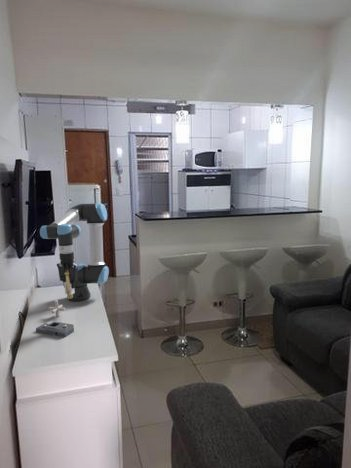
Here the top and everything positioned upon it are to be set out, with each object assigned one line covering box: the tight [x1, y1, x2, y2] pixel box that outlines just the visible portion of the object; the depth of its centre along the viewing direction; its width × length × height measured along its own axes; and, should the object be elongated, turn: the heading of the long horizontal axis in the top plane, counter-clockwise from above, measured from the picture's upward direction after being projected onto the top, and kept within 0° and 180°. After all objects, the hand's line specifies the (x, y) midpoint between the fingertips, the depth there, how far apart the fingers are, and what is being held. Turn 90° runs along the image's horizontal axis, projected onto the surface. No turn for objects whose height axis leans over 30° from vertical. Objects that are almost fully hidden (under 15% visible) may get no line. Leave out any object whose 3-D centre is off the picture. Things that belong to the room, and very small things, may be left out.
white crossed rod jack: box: [48, 300, 66, 318], centre depth 213 cm, size 10×10×10 cm
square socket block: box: [35, 321, 75, 338], centre depth 193 cm, size 7×20×5 cm, turn 67°
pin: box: [64, 271, 73, 300], centre depth 198 cm, size 4×4×15 cm
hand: (69, 293), depth 199 cm, fingers closed on pin, 3 cm apart
